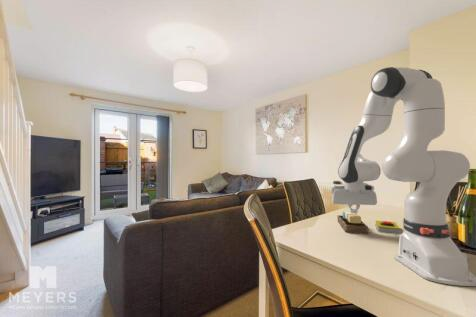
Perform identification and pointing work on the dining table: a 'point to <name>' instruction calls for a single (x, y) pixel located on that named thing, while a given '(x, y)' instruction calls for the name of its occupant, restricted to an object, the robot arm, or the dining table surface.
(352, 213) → the white block
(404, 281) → the dining table surface
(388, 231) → the emergency button
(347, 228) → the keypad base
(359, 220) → the yellow block
